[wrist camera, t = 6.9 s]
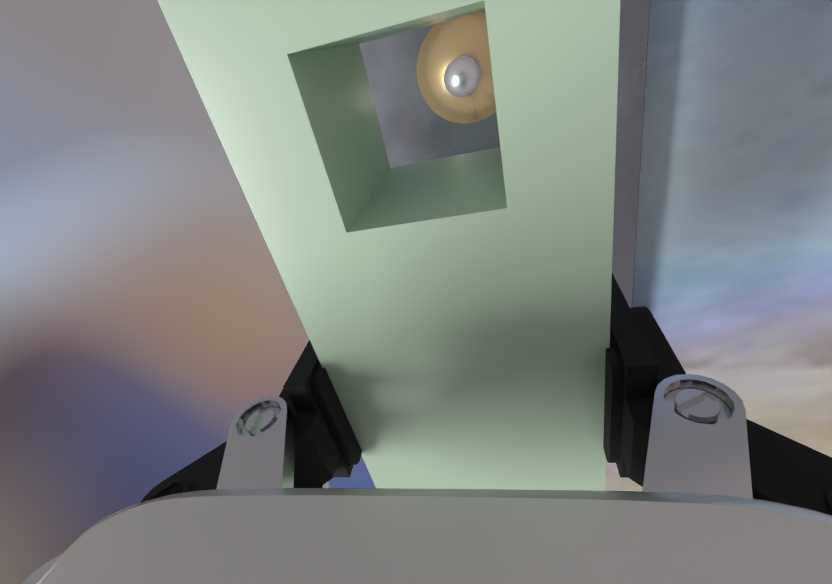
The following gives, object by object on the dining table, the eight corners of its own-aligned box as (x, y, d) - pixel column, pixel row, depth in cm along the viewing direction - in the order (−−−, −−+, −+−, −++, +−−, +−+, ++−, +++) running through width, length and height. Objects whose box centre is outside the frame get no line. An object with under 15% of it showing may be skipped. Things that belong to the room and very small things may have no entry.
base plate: (647, -180, 14) (732, -294, 9) (621, 353, 26) (651, 431, 21) (285, -54, 17) (203, -86, 12) (410, 366, 29) (393, 434, 25)
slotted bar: (563, -120, 7) (627, -241, 4) (578, 482, 16) (601, 598, 13) (267, -23, 9) (133, -53, 5) (432, 482, 18) (420, 586, 15)
